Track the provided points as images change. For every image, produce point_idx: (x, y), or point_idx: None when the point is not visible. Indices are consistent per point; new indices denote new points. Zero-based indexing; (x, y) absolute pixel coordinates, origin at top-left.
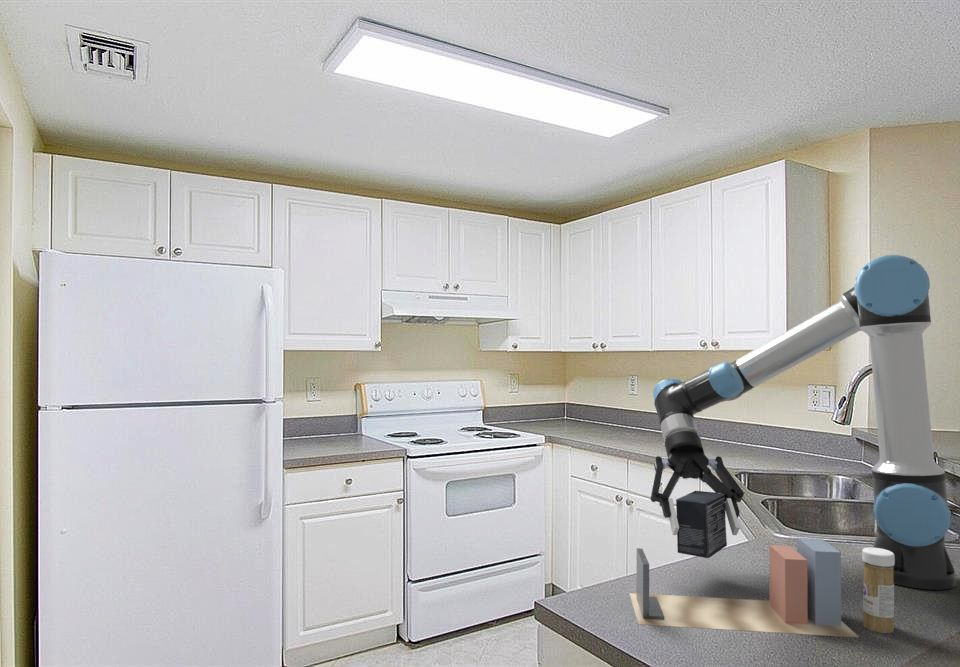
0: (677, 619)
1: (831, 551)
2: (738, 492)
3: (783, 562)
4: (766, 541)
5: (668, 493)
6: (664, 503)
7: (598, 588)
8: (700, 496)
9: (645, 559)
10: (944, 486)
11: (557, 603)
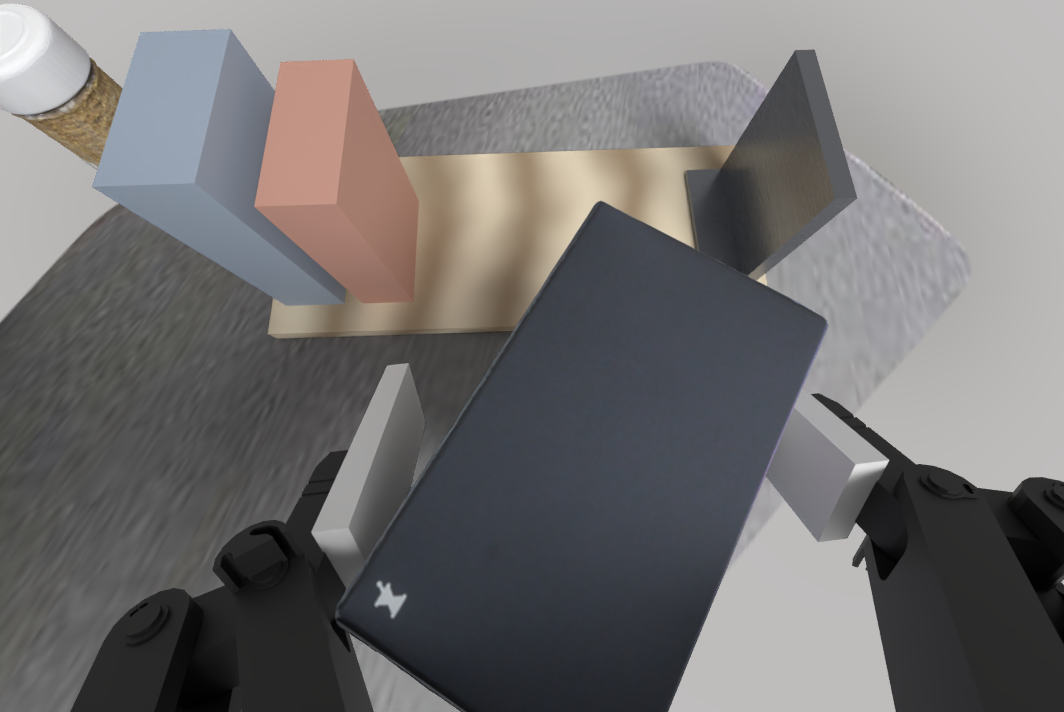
0: (655, 180)
1: (169, 35)
2: (168, 626)
3: (359, 87)
4: None
5: (929, 512)
6: (884, 449)
7: (858, 386)
8: (617, 407)
9: (811, 90)
10: None
11: (938, 262)
